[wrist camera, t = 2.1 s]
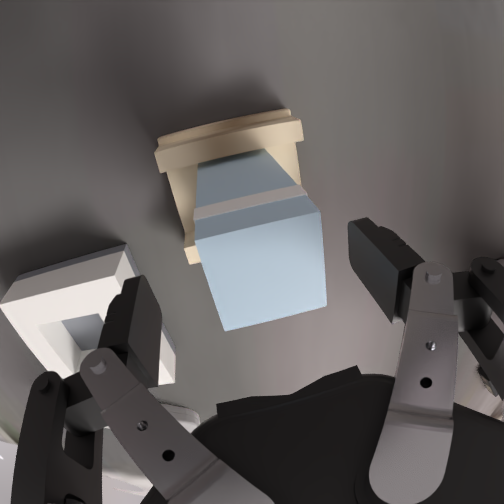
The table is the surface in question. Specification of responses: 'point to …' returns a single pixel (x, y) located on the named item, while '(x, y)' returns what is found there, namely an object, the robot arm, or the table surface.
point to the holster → (224, 155)
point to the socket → (74, 309)
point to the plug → (257, 240)
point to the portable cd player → (487, 382)
